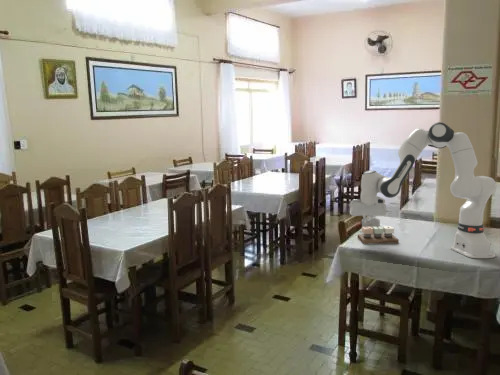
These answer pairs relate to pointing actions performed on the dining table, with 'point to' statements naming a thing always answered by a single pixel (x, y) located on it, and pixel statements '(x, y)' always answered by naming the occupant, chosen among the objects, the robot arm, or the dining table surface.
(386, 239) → the brown flat board
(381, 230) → the key two
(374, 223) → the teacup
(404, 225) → the dining table surface
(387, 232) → the key one
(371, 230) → the key three
